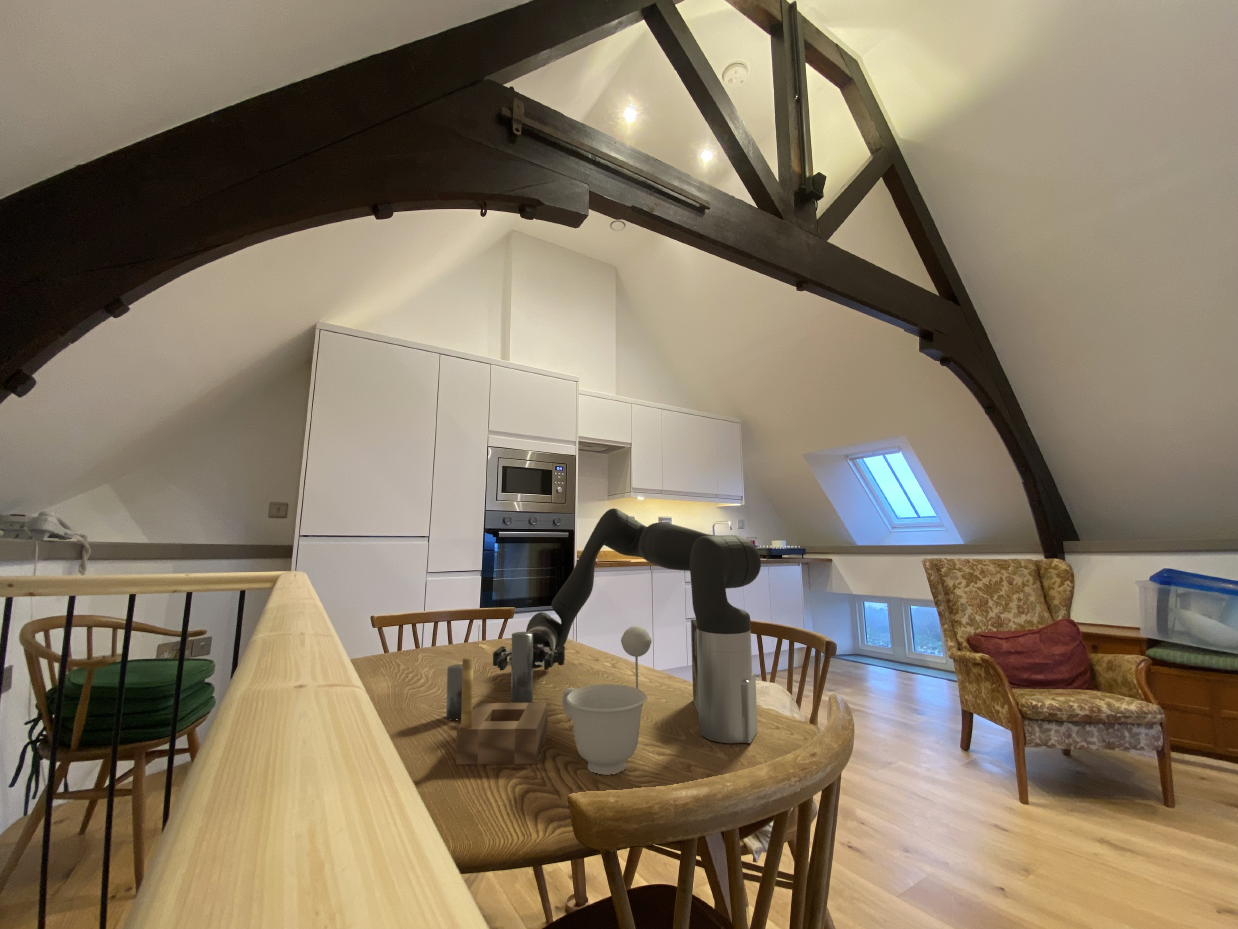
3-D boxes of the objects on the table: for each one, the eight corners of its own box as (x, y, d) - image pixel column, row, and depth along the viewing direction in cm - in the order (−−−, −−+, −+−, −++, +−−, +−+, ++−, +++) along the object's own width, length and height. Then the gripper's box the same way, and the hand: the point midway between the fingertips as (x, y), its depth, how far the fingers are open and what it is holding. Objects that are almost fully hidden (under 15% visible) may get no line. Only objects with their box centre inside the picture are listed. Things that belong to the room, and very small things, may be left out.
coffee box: (732, 715, 100) (729, 626, 101) (697, 715, 100) (695, 626, 102) (724, 699, 109) (721, 617, 111) (692, 699, 109) (690, 618, 111)
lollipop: (617, 707, 105) (617, 628, 106) (626, 698, 110) (625, 623, 112) (648, 710, 103) (647, 629, 105) (655, 700, 108) (654, 624, 110)
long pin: (536, 714, 101) (537, 632, 103) (524, 721, 98) (525, 636, 99) (519, 711, 103) (520, 631, 105) (506, 718, 99) (507, 634, 101)
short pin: (472, 714, 101) (473, 665, 102) (458, 721, 98) (459, 670, 99) (456, 712, 103) (457, 663, 104) (441, 718, 100) (442, 668, 101)
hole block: (547, 733, 92) (547, 642, 94) (536, 763, 80) (536, 659, 82) (477, 733, 92) (479, 643, 94) (455, 764, 80) (458, 660, 82)
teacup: (590, 739, 89) (589, 676, 90) (664, 763, 80) (662, 693, 81) (535, 764, 80) (535, 694, 81) (611, 795, 71) (611, 715, 72)
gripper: (505, 629, 119) (486, 645, 103) (569, 628, 119) (561, 644, 103) (504, 664, 118) (486, 685, 102) (569, 663, 118) (561, 684, 102)
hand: (523, 664), depth 103 cm, fingers open, 8 cm apart
